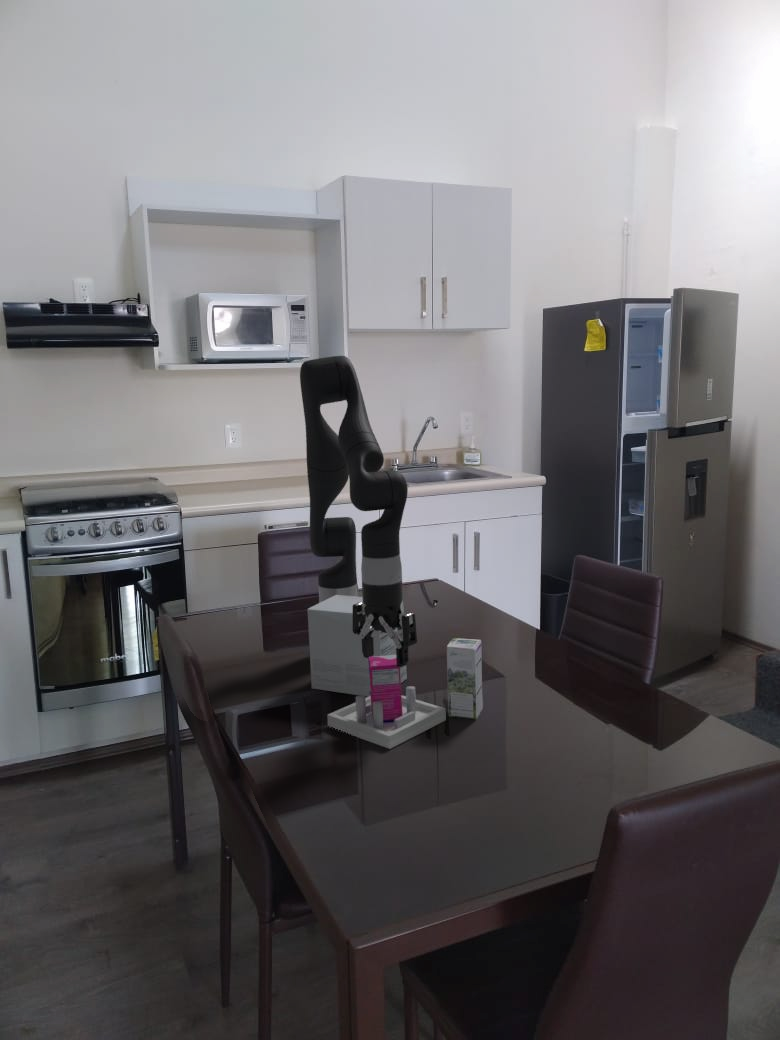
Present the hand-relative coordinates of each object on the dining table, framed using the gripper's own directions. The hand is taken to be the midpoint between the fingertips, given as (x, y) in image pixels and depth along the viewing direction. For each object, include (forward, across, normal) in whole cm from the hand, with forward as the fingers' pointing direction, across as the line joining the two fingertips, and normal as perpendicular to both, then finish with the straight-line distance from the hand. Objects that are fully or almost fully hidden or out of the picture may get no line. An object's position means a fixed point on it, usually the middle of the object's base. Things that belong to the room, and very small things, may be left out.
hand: (385, 661), depth 158 cm
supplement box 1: (+13, +19, -12) cm, 26 cm away
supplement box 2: (+11, 0, 0) cm, 11 cm away
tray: (+12, 0, 0) cm, 12 cm away
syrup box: (+13, -9, -13) cm, 20 cm away
